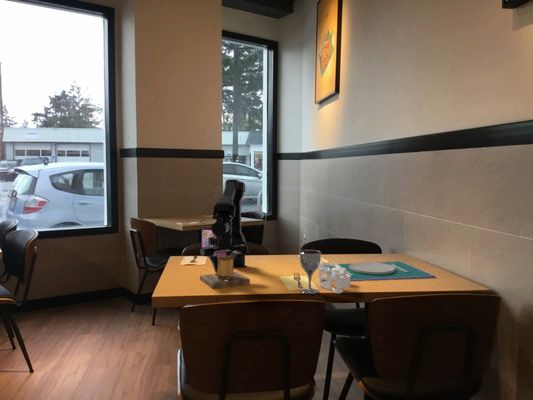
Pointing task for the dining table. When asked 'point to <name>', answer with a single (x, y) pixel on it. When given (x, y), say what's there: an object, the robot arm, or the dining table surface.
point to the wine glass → (310, 266)
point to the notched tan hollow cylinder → (224, 266)
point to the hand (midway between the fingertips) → (224, 271)
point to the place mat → (382, 271)
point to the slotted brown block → (219, 282)
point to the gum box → (205, 236)
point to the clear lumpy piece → (334, 277)
